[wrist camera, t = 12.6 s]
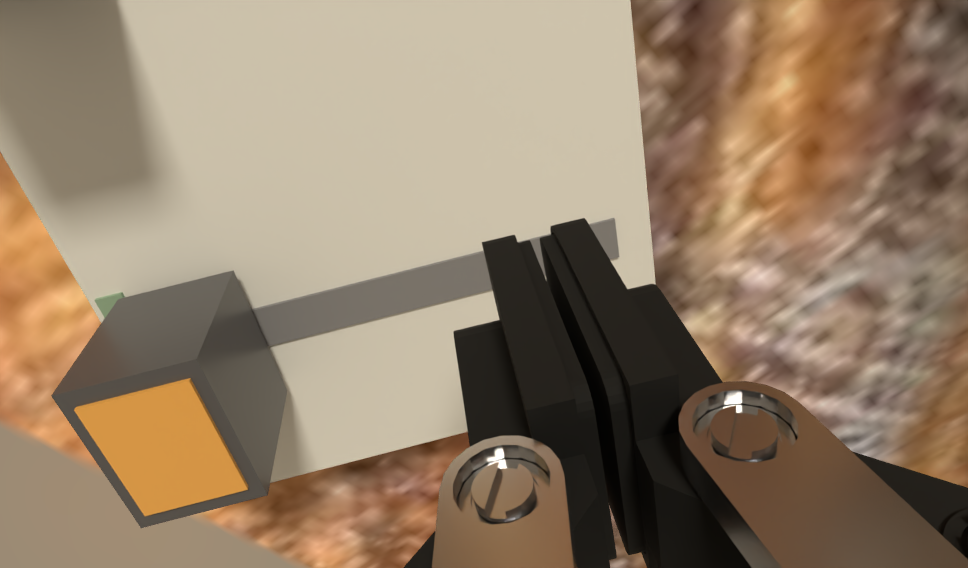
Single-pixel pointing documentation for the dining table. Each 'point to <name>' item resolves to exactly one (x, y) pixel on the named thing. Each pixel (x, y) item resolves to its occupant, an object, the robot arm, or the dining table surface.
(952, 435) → the dining table surface
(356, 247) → the panel
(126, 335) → the block
